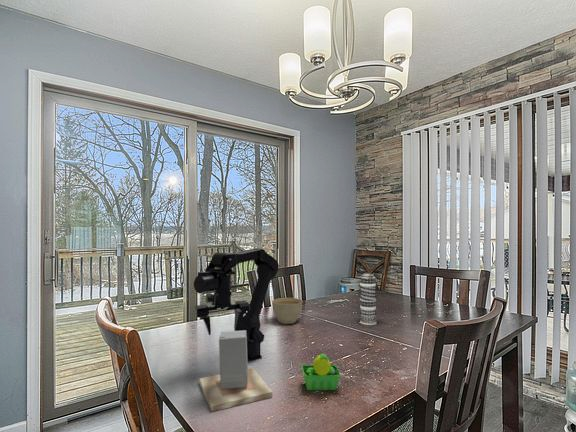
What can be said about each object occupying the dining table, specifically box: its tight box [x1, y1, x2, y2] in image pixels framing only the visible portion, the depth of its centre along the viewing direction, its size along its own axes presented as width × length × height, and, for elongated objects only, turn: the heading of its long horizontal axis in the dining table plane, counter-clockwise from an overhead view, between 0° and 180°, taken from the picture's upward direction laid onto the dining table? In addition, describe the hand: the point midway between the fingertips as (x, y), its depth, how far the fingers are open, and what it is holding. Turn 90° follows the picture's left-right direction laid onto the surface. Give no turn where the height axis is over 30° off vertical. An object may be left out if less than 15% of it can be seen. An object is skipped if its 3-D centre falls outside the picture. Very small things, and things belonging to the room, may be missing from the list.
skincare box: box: [218, 330, 249, 389], centre depth 102 cm, size 8×7×16 cm
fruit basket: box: [301, 353, 341, 391], centre depth 104 cm, size 11×9×11 cm
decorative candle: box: [358, 273, 378, 326], centre depth 172 cm, size 9×9×25 cm
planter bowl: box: [271, 297, 303, 325], centre depth 174 cm, size 16×16×11 cm
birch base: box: [199, 367, 273, 412], centre depth 102 cm, size 18×18×2 cm
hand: (222, 332), depth 116 cm, fingers open, 9 cm apart
